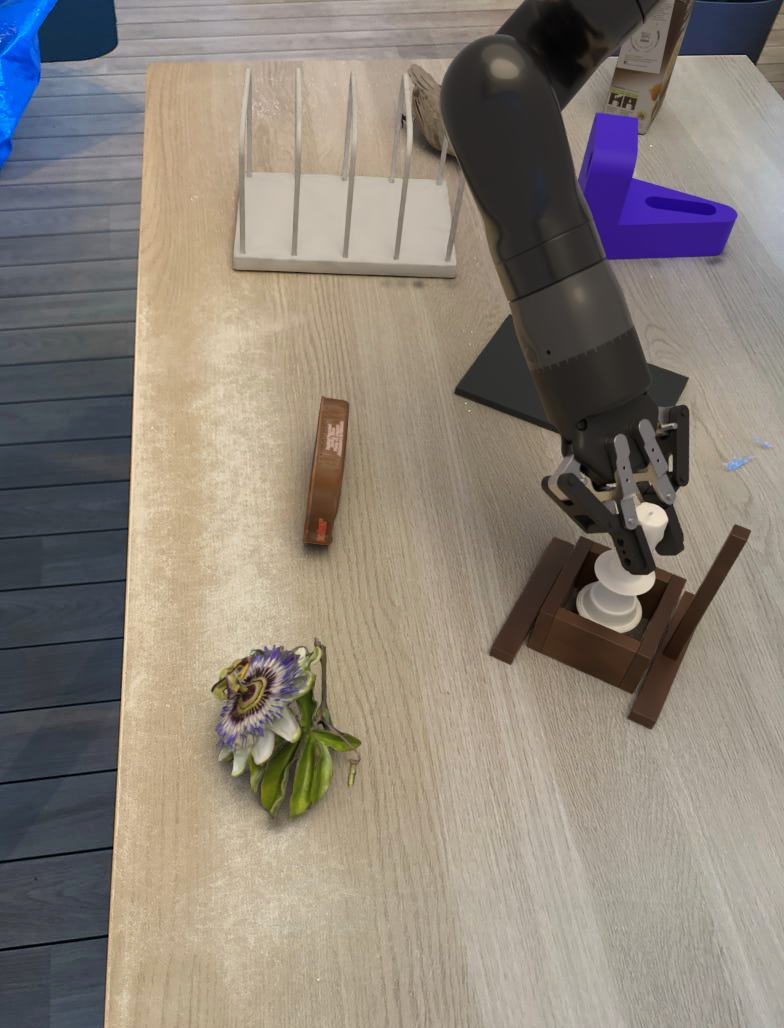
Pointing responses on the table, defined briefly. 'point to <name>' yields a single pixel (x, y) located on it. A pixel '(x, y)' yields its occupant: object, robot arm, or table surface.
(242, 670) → the passion flower
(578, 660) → the brown wooden stand
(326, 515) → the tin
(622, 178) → the bracket
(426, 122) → the decorative bird
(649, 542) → the candle
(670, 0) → the coffee box
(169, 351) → the table surface
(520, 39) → the robot arm
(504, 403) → the mat
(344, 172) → the file sorter
